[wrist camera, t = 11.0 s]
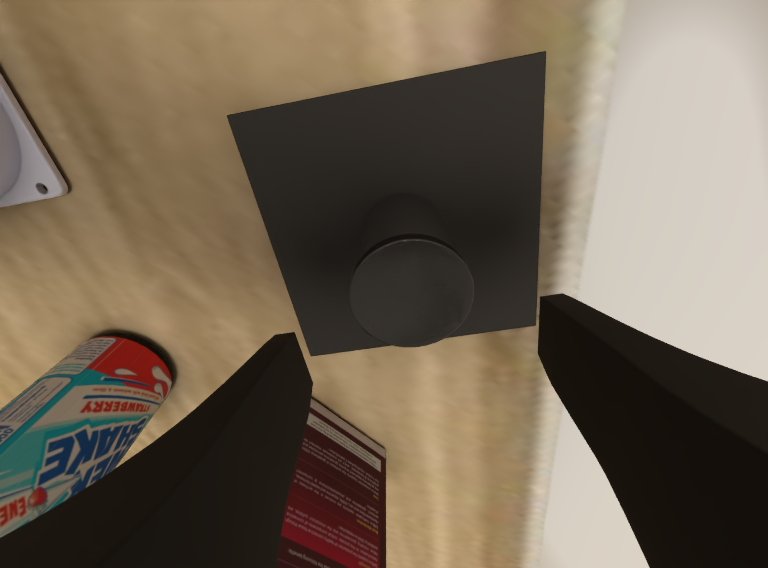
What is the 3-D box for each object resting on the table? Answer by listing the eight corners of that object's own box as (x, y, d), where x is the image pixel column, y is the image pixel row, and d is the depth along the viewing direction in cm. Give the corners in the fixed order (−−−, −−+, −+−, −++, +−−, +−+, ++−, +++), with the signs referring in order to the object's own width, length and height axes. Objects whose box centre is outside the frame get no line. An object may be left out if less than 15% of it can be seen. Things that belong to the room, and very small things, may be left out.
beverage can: (164, 409, 25) (-85, 762, 12) (75, 376, 23) (-324, 737, 10) (189, 354, 23) (-87, 718, 9) (92, 313, 21) (-400, 678, 8)
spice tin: (369, 279, 19) (362, 354, 14) (351, 200, 17) (335, 251, 12) (449, 266, 19) (477, 339, 13) (441, 184, 17) (470, 228, 11)
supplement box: (261, 422, 26) (111, 816, 12) (305, 389, 24) (192, 799, 10) (346, 476, 29) (308, 842, 15) (389, 450, 27) (394, 831, 13)
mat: (311, 352, 22) (310, 356, 22) (229, 115, 16) (226, 115, 16) (533, 321, 21) (536, 325, 21) (542, 52, 15) (546, 50, 14)
